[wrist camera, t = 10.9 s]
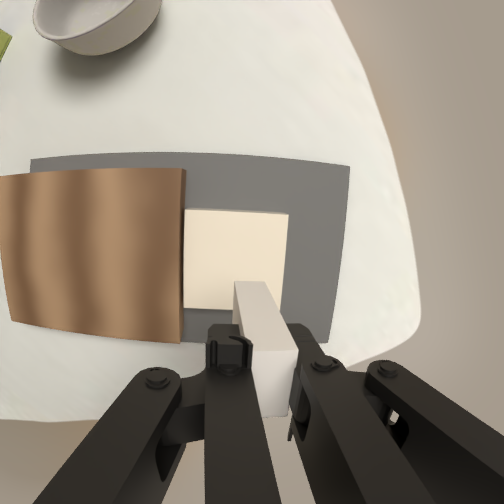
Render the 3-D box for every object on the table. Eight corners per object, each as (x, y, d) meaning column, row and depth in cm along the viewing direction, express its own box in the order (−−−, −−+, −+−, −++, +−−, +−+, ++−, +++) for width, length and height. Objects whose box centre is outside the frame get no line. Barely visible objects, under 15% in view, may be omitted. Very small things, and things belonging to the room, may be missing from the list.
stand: (26, 309, 25) (11, 320, 22) (16, 176, 22) (-2, 176, 19) (183, 327, 27) (179, 343, 24) (186, 170, 24) (181, 168, 21)
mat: (43, 323, 26) (41, 324, 25) (33, 159, 22) (30, 159, 22) (326, 340, 29) (327, 342, 29) (348, 166, 25) (349, 166, 25)
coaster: (186, 298, 26) (183, 307, 24) (187, 207, 24) (184, 209, 23) (275, 302, 27) (279, 310, 25) (283, 212, 25) (288, 214, 23)
